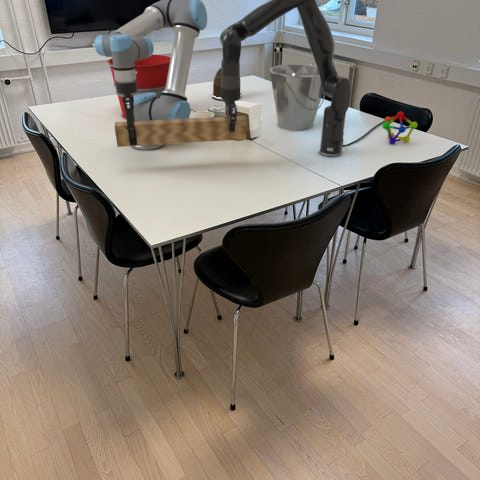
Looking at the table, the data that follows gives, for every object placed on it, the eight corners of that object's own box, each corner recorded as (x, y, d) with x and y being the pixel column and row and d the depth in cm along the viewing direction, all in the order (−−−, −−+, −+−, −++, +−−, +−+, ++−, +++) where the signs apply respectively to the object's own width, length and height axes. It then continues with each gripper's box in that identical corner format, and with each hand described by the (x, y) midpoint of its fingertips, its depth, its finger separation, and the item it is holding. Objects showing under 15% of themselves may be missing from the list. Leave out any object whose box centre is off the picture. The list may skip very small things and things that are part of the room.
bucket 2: (296, 138, 215) (301, 78, 201) (255, 124, 234) (256, 68, 219) (335, 125, 232) (342, 70, 217) (294, 113, 251) (297, 61, 236)
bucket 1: (122, 105, 263) (114, 51, 248) (180, 106, 263) (177, 52, 247) (105, 123, 234) (95, 63, 218) (171, 124, 233) (166, 64, 217)
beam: (117, 147, 172) (114, 125, 167) (117, 142, 176) (114, 122, 171) (246, 139, 180) (246, 119, 176) (244, 135, 184) (244, 115, 180)
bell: (227, 105, 294) (202, 96, 282) (238, 66, 289) (213, 55, 277) (243, 108, 280) (217, 98, 268) (255, 66, 275) (229, 55, 263)
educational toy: (377, 146, 209) (379, 114, 202) (384, 138, 219) (386, 107, 211) (411, 149, 202) (415, 116, 195) (417, 141, 212) (420, 109, 204)
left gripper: (136, 86, 155) (143, 149, 168) (136, 75, 170) (143, 134, 183) (114, 87, 154) (123, 151, 166) (116, 76, 169) (124, 135, 181)
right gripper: (243, 90, 165) (243, 134, 174) (236, 81, 177) (236, 123, 186) (224, 91, 164) (224, 135, 173) (218, 82, 176) (219, 124, 185)
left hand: (133, 142), depth 174 cm, fingers closed on beam, 5 cm apart
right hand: (230, 129), depth 179 cm, fingers closed on beam, 5 cm apart
